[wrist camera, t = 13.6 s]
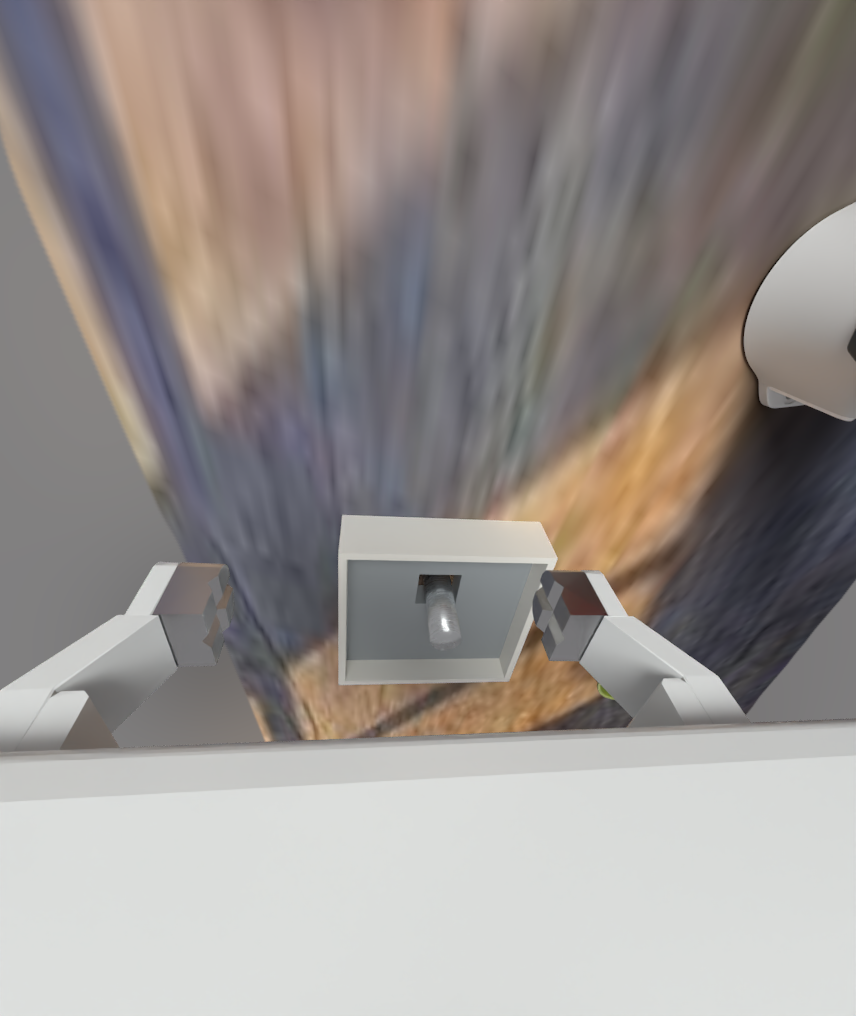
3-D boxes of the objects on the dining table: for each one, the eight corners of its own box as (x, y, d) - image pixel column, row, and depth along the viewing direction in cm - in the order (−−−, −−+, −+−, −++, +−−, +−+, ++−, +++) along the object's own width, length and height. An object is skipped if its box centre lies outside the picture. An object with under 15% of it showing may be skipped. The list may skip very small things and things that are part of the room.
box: (540, 521, 49) (557, 558, 44) (498, 643, 62) (508, 681, 57) (342, 514, 46) (338, 553, 41) (341, 644, 59) (338, 685, 54)
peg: (450, 561, 51) (464, 630, 43) (446, 580, 53) (458, 650, 45) (423, 561, 51) (432, 630, 43) (420, 580, 53) (428, 650, 45)
